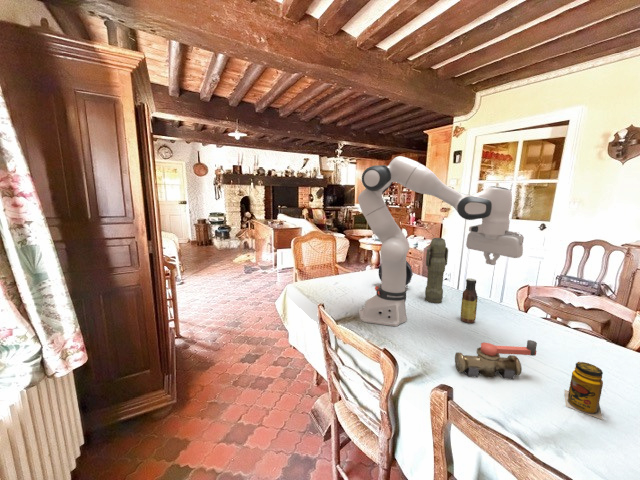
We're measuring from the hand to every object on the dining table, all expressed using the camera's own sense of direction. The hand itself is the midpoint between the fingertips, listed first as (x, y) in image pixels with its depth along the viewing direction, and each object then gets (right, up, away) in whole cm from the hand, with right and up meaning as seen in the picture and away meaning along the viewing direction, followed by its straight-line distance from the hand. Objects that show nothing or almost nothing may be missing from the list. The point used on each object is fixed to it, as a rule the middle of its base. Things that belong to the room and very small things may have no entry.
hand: (490, 264), depth 105 cm
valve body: (-12, -34, -16) cm, 40 cm away
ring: (-21, -21, +62) cm, 69 cm away
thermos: (-4, -24, +43) cm, 50 cm away
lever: (-6, -27, -18) cm, 33 cm away
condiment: (+7, -37, -30) cm, 48 cm away
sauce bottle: (+2, -28, +20) cm, 35 cm away
